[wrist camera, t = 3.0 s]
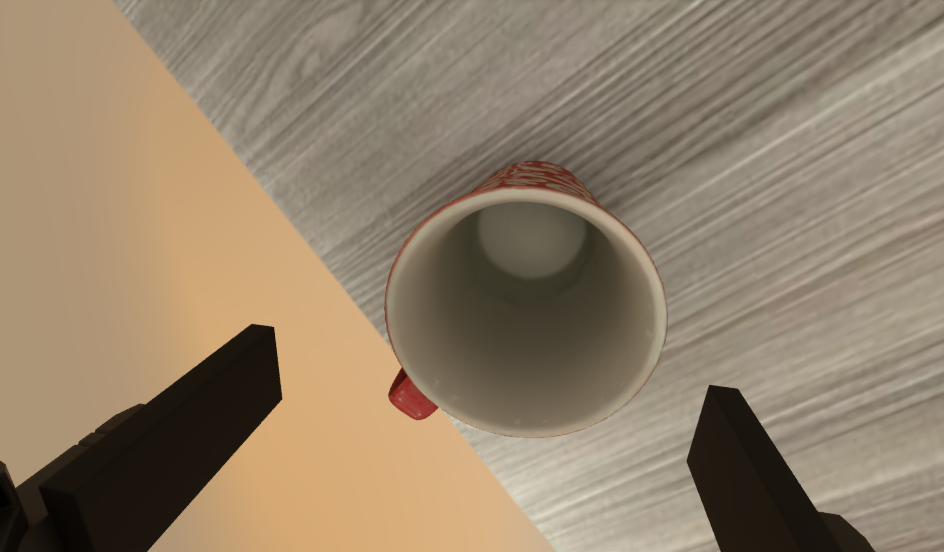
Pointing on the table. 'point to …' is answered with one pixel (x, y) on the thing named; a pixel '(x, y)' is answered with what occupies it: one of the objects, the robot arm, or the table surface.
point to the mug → (524, 308)
